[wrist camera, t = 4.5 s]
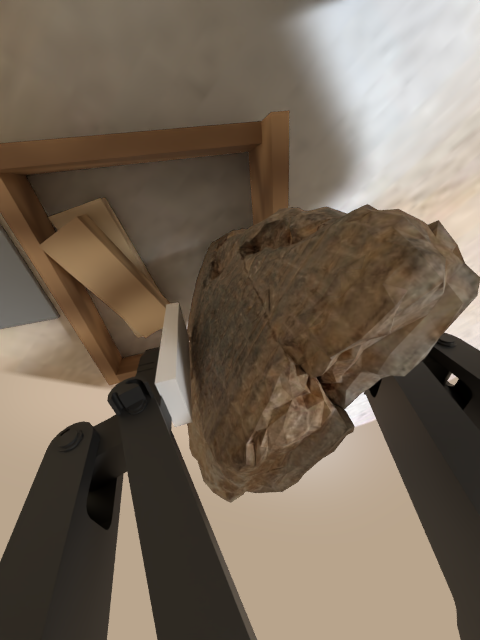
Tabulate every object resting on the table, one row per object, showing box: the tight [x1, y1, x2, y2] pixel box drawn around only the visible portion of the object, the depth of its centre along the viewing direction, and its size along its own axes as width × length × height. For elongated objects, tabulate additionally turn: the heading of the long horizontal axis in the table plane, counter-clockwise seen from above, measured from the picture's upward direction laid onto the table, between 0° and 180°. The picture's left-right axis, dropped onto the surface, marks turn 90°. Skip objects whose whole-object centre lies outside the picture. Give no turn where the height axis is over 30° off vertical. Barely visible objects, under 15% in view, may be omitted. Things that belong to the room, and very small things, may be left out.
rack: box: [0, 111, 289, 385], centre depth 20 cm, size 21×20×6 cm
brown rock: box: [187, 204, 480, 502], centre depth 15 cm, size 14×5×20 cm, turn 154°
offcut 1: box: [48, 198, 163, 338], centre depth 21 cm, size 13×4×2 cm, turn 17°
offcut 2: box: [38, 214, 170, 338], centre depth 20 cm, size 11×4×2 cm, turn 31°
